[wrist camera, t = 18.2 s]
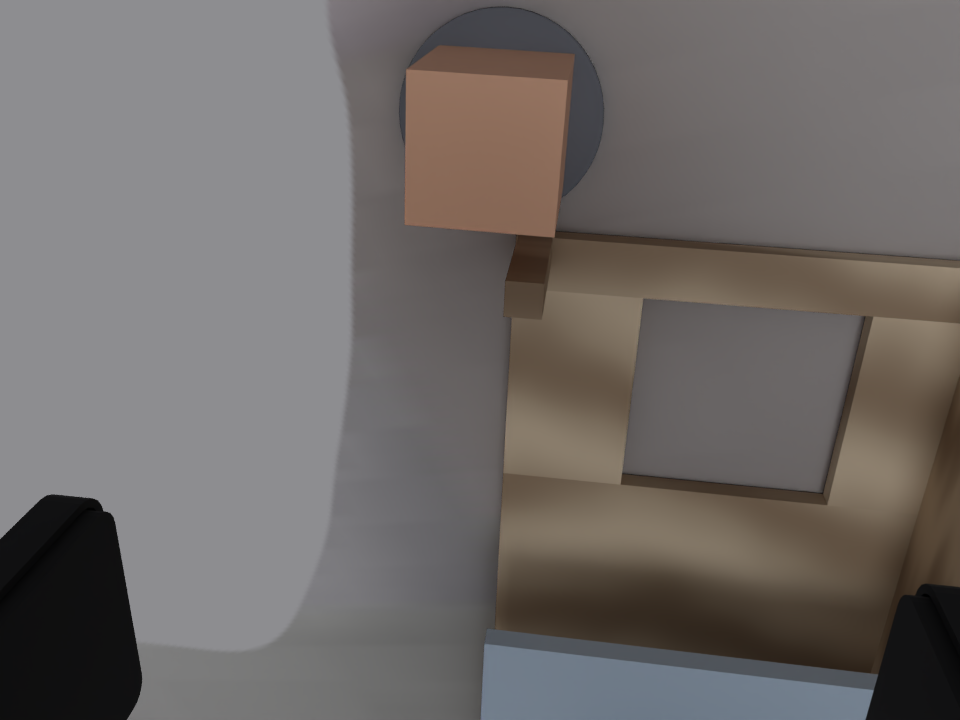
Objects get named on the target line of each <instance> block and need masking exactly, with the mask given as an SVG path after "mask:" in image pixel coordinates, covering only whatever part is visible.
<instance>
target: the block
mask: <svg viewBox="0 0 960 720" xmlns="http://www.w3.org/2000/svg"><path fill="white" fill-rule="evenodd" d="M574 57H575V54H568V53H553V52H537V51H522V50H507V49H492V48H476V47H461V46H446V45H439V46H437V47H436V48H435V49H433V50H432V51H430V52H429V53H428V54H426V55H425V56H424V57H422V58H421V59H420V60H418V61H417V62H416V63H414V64H413V65H411V66H410V67H409V68H407V69H406V137H405V225H411V226H423V227H435V228H446V229H458V230H470V231H482V232H494V233H505V234H517V235H529V236H541V237H553V238H554V237H555V231H556V226H557V220H558V214H559V208H560V203H561V197H562V191H563V182H564V171H565V160H566V148H567V137H568V125H569V114H570V103H571V91H572V80H573V69H574Z"/></svg>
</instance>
